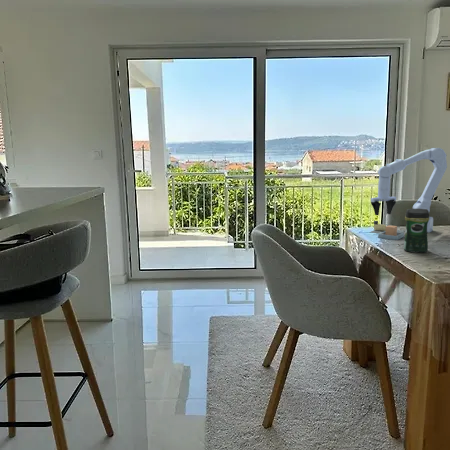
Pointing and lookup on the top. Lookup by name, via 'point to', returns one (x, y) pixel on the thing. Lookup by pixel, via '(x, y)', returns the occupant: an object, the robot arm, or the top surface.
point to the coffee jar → (416, 230)
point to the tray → (399, 236)
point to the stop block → (391, 230)
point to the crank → (380, 226)
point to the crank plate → (383, 231)
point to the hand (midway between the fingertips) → (382, 214)
